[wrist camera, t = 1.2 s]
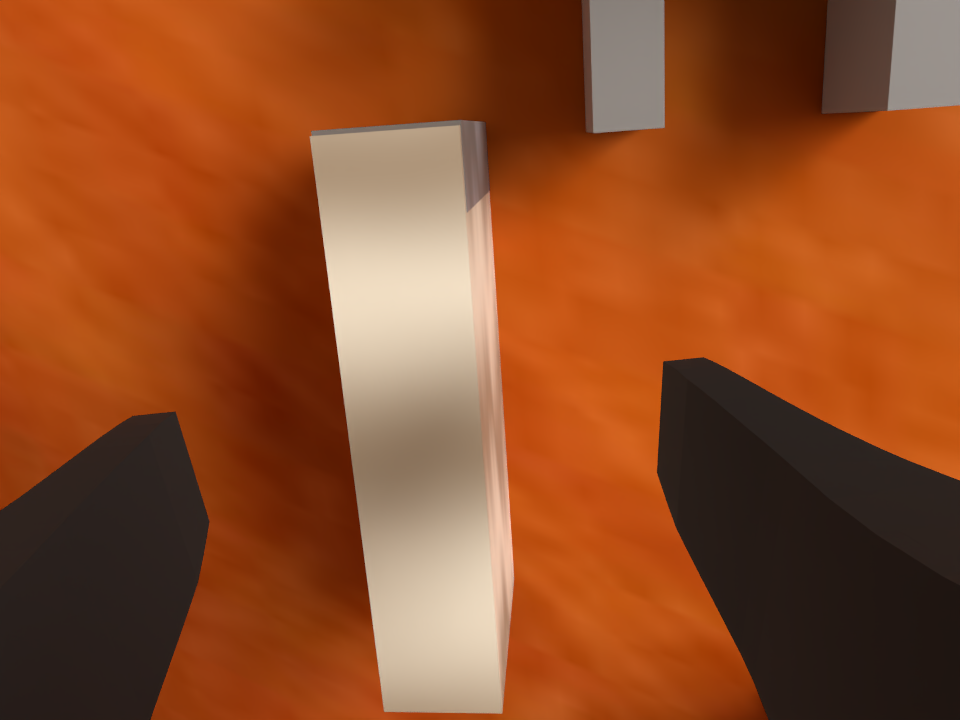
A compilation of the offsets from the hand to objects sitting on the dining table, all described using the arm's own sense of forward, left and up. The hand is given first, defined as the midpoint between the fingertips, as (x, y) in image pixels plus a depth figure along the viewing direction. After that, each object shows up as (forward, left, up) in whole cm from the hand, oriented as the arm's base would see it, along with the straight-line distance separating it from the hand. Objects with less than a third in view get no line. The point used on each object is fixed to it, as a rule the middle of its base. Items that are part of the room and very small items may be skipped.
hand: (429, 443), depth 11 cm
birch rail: (-2, +1, -11) cm, 11 cm away
